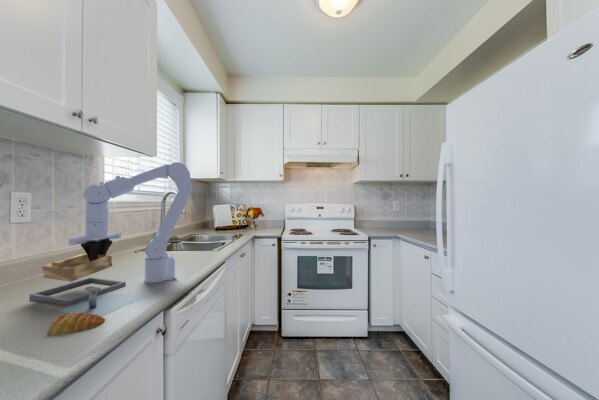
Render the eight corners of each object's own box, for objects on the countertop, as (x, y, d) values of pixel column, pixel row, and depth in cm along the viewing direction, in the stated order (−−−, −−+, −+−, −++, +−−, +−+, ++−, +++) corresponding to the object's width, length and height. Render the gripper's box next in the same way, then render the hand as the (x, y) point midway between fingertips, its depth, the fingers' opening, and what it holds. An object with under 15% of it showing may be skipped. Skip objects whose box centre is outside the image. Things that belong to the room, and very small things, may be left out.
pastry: (110, 321, 60) (110, 305, 59) (94, 336, 53) (94, 319, 53) (65, 325, 57) (65, 309, 57) (42, 342, 51) (42, 324, 51)
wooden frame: (87, 263, 82) (85, 248, 81) (112, 266, 78) (110, 251, 78) (44, 277, 71) (41, 261, 70) (71, 281, 68) (69, 264, 67)
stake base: (111, 294, 76) (111, 291, 76) (146, 299, 72) (146, 296, 72) (55, 314, 62) (55, 310, 62) (95, 322, 58) (95, 318, 58)
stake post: (90, 305, 65) (90, 286, 65) (101, 307, 64) (101, 287, 64) (83, 308, 64) (84, 288, 64) (95, 310, 63) (95, 289, 63)
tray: (90, 283, 85) (90, 277, 85) (125, 288, 80) (125, 281, 80) (29, 302, 69) (29, 294, 69) (68, 309, 65) (68, 301, 65)
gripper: (110, 219, 87) (110, 257, 87) (61, 223, 73) (61, 268, 73) (125, 220, 85) (125, 258, 85) (78, 224, 71) (78, 270, 71)
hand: (96, 263), depth 79 cm, fingers closed on wooden frame
